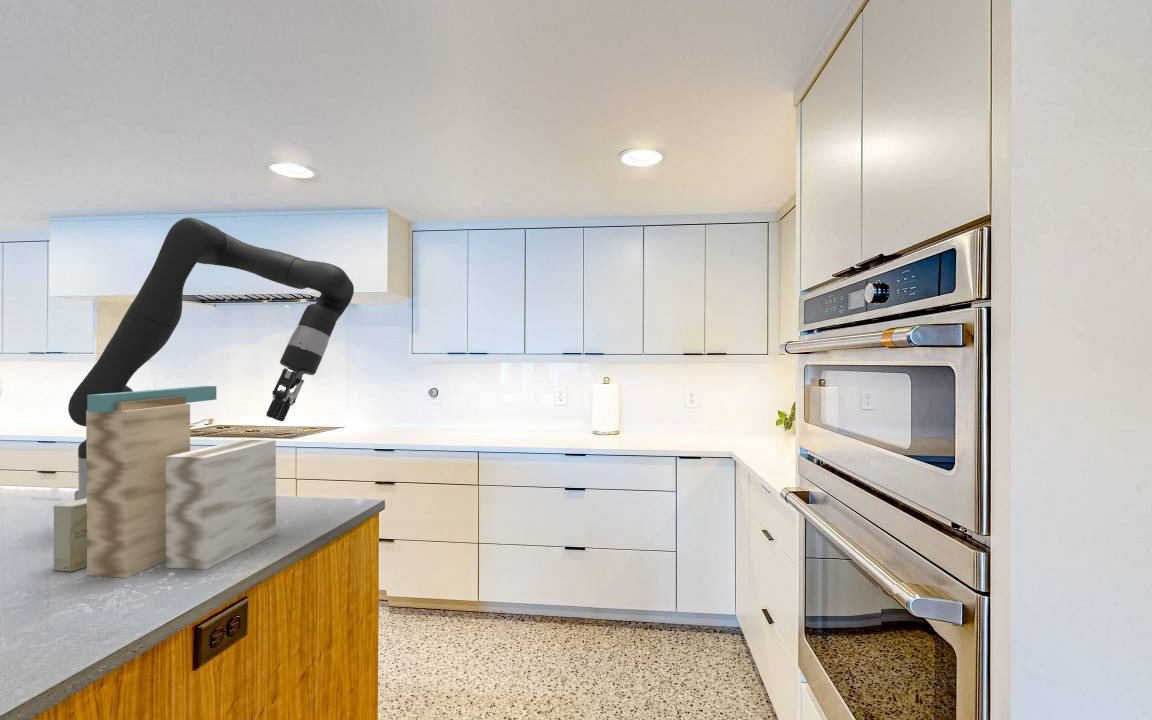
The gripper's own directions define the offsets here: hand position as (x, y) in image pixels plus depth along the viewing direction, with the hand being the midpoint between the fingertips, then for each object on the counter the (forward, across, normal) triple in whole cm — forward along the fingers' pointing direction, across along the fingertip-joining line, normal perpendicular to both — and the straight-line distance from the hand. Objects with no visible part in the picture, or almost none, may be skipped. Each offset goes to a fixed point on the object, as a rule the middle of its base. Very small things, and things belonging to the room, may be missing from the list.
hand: (274, 419), depth 117 cm
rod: (+4, +2, -20) cm, 21 cm away
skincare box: (+36, -2, -21) cm, 42 cm away
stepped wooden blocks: (+30, -3, -4) cm, 30 cm away
